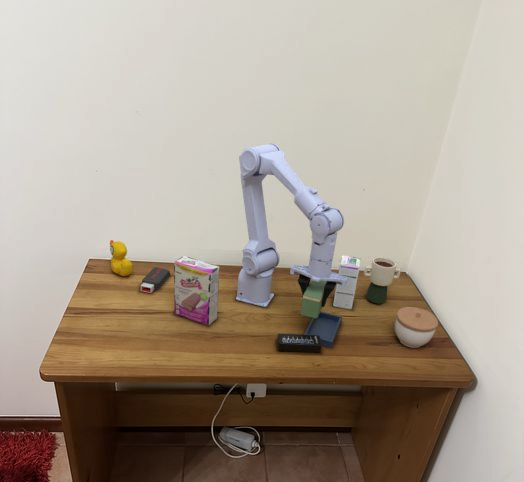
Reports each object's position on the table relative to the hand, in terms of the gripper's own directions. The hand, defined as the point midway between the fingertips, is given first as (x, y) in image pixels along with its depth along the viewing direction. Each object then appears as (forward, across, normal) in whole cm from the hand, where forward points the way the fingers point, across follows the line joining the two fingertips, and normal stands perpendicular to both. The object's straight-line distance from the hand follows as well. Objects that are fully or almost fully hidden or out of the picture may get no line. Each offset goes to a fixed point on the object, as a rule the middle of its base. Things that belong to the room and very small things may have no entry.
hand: (314, 302), depth 129 cm
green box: (+1, 0, 0) cm, 1 cm away
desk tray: (+8, +4, +1) cm, 9 cm away
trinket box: (+9, +27, +7) cm, 29 cm away
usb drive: (+8, -49, +2) cm, 50 cm away
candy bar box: (+9, -30, -8) cm, 33 cm away
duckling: (+8, -61, +3) cm, 62 cm away
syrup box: (+9, +6, +18) cm, 21 cm away
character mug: (+9, +15, +25) cm, 30 cm away
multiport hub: (+8, -1, -9) cm, 13 cm away
